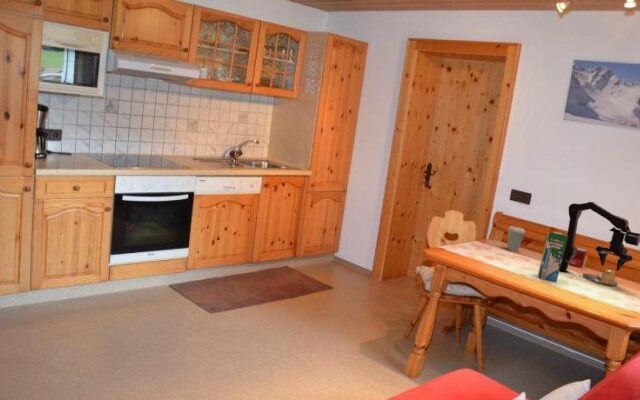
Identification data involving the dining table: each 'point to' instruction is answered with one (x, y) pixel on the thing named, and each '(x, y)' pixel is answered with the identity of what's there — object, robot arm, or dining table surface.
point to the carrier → (595, 277)
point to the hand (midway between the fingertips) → (609, 268)
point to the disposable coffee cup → (514, 237)
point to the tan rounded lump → (606, 278)
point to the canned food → (578, 258)
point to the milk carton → (552, 256)
